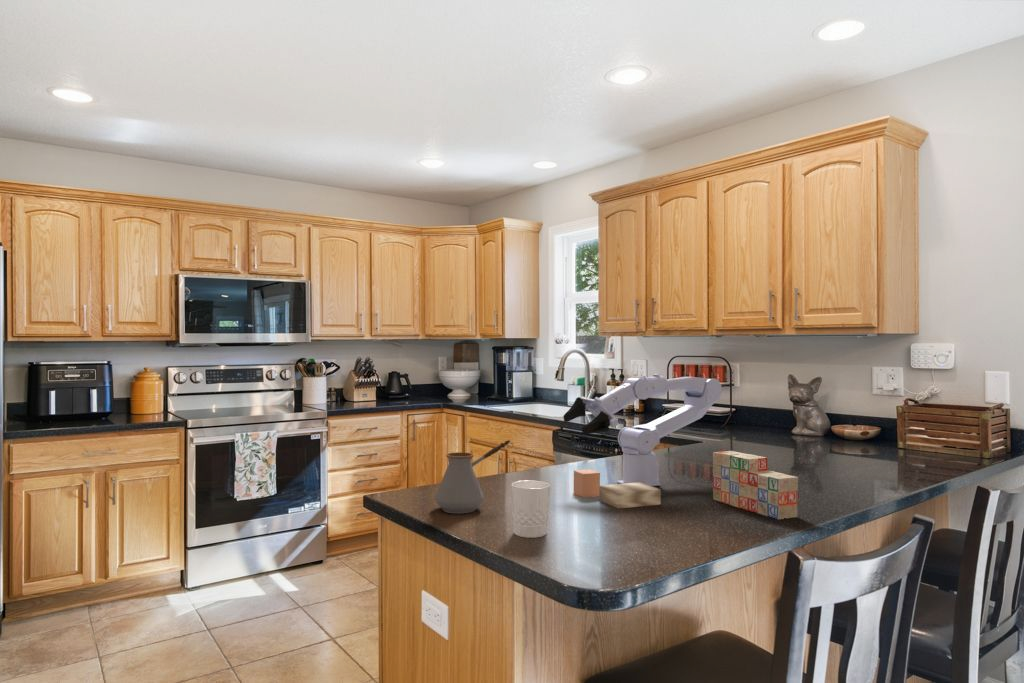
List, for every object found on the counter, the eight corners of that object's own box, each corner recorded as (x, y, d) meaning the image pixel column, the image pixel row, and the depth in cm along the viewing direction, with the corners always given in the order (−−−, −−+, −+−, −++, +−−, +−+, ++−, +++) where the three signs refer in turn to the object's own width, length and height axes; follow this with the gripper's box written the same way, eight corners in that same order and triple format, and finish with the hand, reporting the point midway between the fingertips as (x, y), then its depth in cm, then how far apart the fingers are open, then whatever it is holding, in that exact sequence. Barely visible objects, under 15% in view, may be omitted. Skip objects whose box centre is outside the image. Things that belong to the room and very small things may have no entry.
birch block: (640, 497, 165) (640, 482, 165) (660, 505, 157) (660, 489, 157) (599, 501, 160) (599, 485, 160) (618, 509, 152) (618, 493, 152)
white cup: (520, 540, 126) (520, 489, 126) (504, 530, 133) (505, 482, 133) (556, 536, 129) (556, 486, 129) (539, 526, 136) (539, 479, 136)
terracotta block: (590, 492, 170) (590, 469, 170) (599, 496, 165) (600, 472, 165) (573, 493, 168) (573, 470, 168) (582, 497, 163) (582, 474, 163)
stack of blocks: (798, 517, 145) (798, 463, 146) (777, 520, 143) (778, 465, 143) (731, 497, 165) (731, 449, 165) (712, 499, 162) (712, 451, 163)
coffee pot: (452, 518, 142) (453, 450, 142) (425, 508, 150) (425, 444, 151) (525, 504, 155) (526, 442, 155) (496, 495, 164) (497, 437, 164)
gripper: (593, 380, 179) (555, 401, 173) (629, 402, 168) (590, 425, 162) (595, 400, 182) (557, 422, 177) (630, 423, 172) (592, 446, 166)
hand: (573, 425), depth 170 cm, fingers open, 7 cm apart
